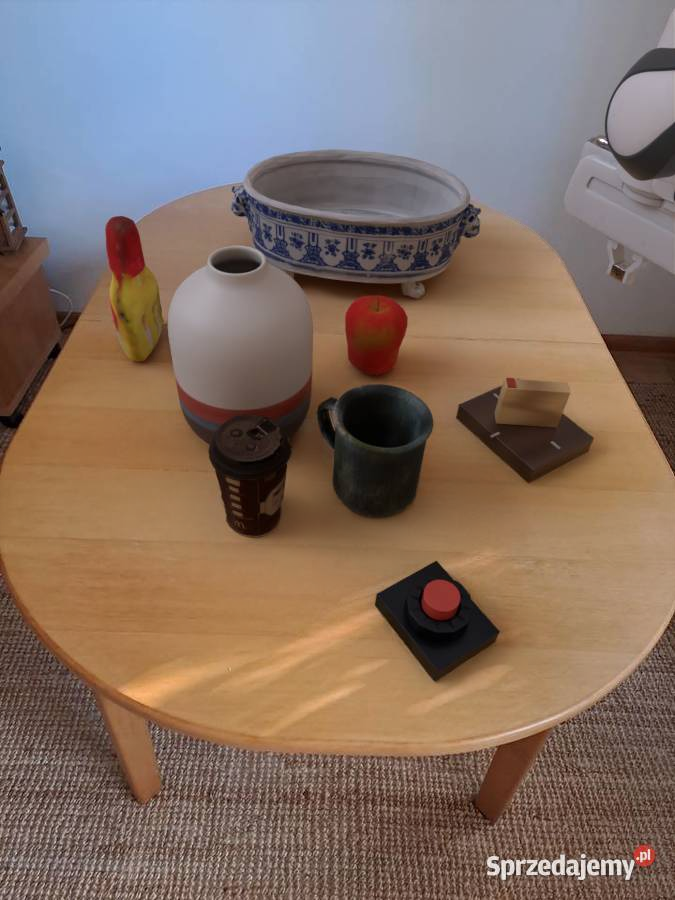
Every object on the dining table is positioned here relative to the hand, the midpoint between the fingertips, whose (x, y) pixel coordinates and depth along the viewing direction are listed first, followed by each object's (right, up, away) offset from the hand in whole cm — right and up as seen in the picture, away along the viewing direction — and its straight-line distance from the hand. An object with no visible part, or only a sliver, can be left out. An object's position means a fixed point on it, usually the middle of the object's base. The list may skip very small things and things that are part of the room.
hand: (619, 279), depth 80 cm
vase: (-46, -16, +9) cm, 50 cm away
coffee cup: (-43, -28, -2) cm, 52 cm away
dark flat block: (-9, -18, +10) cm, 23 cm away
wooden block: (-9, -17, +8) cm, 20 cm away
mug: (-31, -24, +3) cm, 39 cm away
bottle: (-63, -5, +20) cm, 66 cm away
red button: (-24, -36, -13) cm, 45 cm away
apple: (-29, -8, +19) cm, 35 cm away
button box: (-24, -38, -11) cm, 46 cm away
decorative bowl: (-31, +13, +39) cm, 52 cm away
